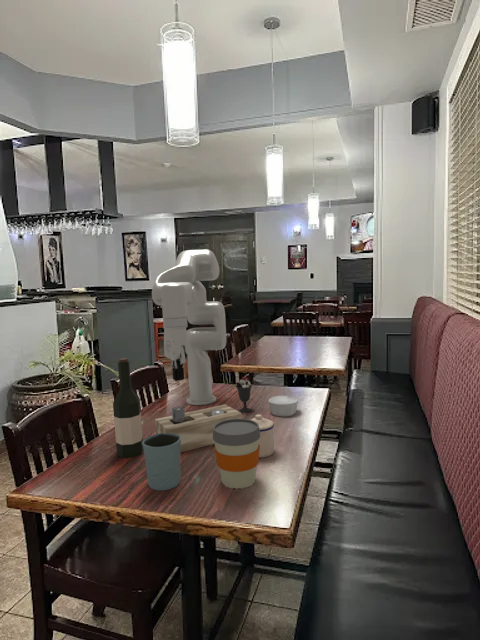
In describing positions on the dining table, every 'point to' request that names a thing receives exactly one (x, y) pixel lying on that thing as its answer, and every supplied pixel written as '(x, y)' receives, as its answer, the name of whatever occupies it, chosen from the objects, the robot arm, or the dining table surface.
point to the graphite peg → (178, 415)
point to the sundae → (244, 392)
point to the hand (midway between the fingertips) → (178, 379)
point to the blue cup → (162, 460)
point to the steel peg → (217, 412)
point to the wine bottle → (127, 415)
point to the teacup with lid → (265, 436)
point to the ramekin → (283, 405)
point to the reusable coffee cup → (237, 451)
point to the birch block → (196, 426)
